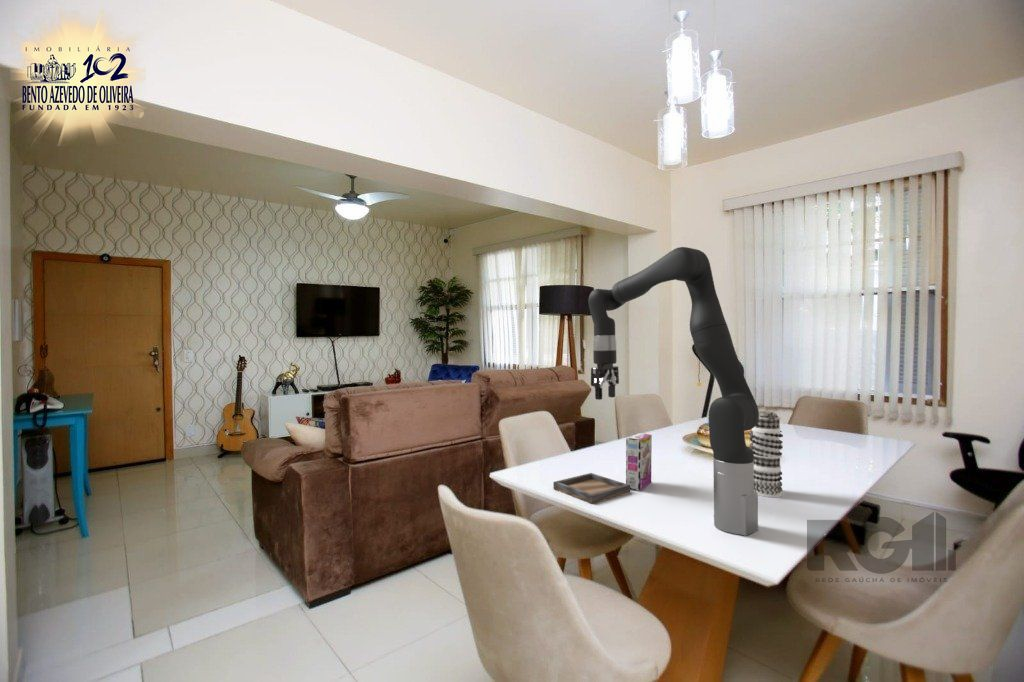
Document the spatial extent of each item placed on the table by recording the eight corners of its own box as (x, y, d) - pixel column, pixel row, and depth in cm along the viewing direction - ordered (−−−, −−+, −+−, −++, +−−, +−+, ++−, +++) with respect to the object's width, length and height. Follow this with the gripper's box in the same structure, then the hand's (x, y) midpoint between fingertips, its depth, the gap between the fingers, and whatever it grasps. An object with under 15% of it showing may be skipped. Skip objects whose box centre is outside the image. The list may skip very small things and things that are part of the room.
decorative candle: (786, 492, 142) (785, 412, 143) (779, 499, 136) (778, 415, 136) (754, 486, 149) (753, 409, 149) (746, 493, 142) (745, 412, 142)
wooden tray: (630, 492, 143) (630, 485, 143) (591, 503, 133) (591, 496, 133) (591, 479, 157) (591, 472, 157) (553, 489, 147) (553, 481, 147)
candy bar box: (640, 492, 144) (640, 439, 144) (625, 489, 147) (625, 438, 147) (652, 483, 153) (652, 434, 153) (638, 480, 156) (637, 432, 156)
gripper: (603, 349, 144) (604, 401, 144) (625, 349, 155) (626, 397, 154) (583, 349, 149) (584, 399, 149) (605, 349, 160) (606, 395, 159)
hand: (605, 398), depth 151 cm, fingers open, 8 cm apart
